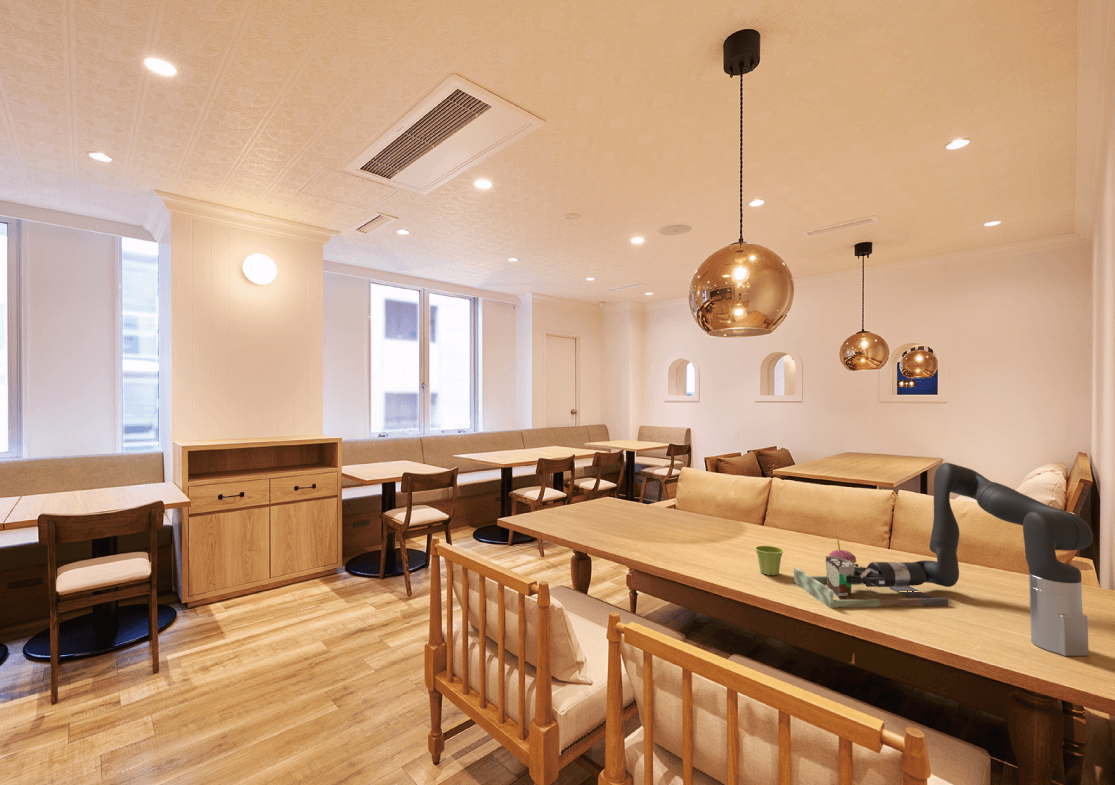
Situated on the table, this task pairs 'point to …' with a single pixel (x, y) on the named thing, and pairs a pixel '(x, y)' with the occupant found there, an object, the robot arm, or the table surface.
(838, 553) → the cupcake
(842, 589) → the food container
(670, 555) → the table surface
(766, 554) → the plant pot
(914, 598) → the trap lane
